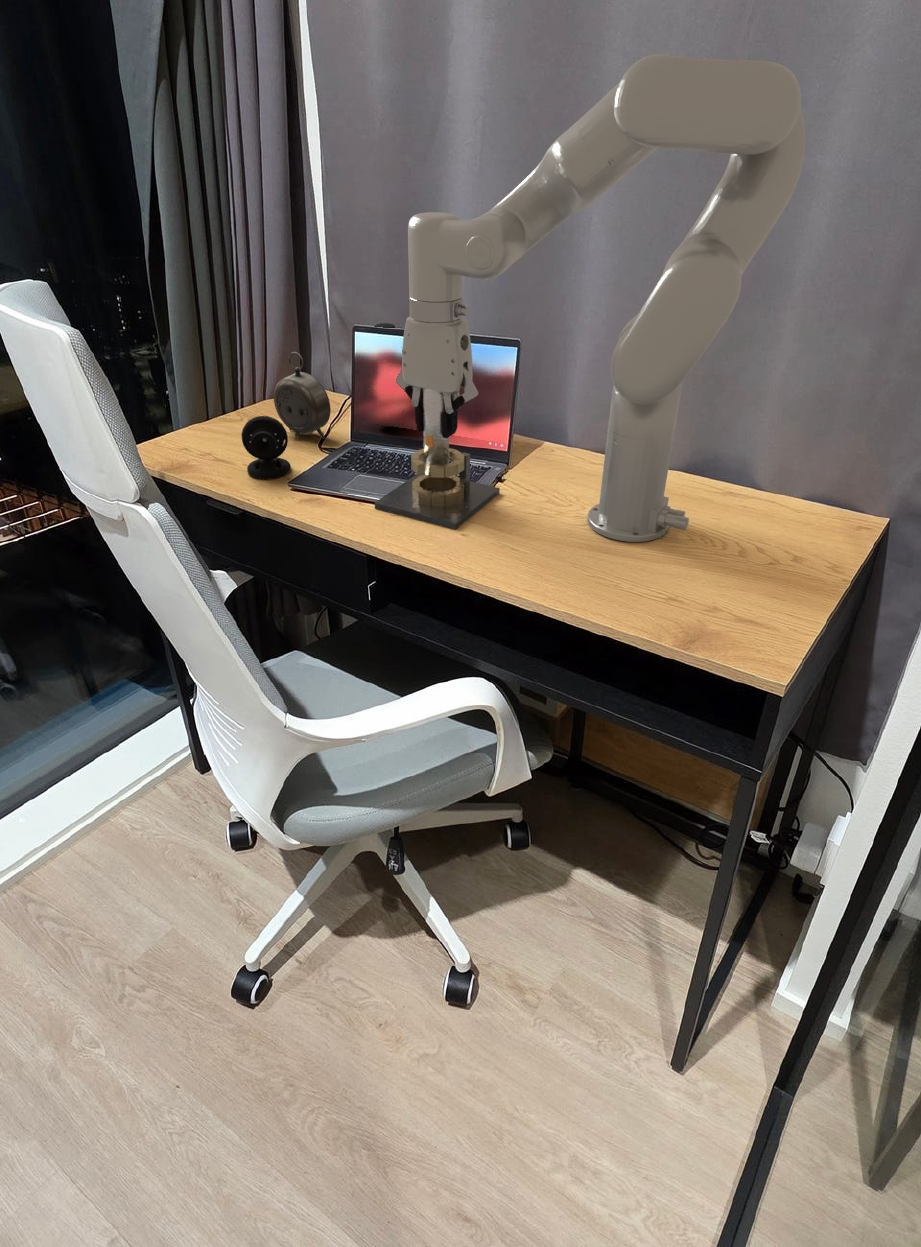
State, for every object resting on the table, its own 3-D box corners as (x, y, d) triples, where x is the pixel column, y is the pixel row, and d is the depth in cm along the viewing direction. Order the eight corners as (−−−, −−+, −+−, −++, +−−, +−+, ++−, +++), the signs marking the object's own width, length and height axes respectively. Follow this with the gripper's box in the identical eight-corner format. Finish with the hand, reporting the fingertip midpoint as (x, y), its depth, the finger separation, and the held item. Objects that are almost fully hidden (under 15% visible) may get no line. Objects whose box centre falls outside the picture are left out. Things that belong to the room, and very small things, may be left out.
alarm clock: (334, 438, 153) (327, 353, 144) (316, 447, 149) (307, 360, 140) (292, 427, 158) (282, 344, 149) (273, 435, 154) (261, 350, 145)
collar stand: (499, 493, 133) (500, 450, 129) (455, 529, 122) (455, 484, 118) (423, 475, 139) (422, 433, 135) (374, 508, 128) (372, 464, 124)
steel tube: (432, 465, 130) (431, 353, 120) (453, 470, 128) (454, 357, 118) (418, 473, 127) (416, 360, 117) (440, 479, 125) (440, 364, 115)
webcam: (245, 481, 137) (236, 425, 131) (249, 464, 143) (240, 409, 137) (290, 479, 138) (283, 423, 132) (292, 462, 144) (286, 408, 138)
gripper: (499, 312, 113) (494, 435, 123) (400, 297, 120) (404, 415, 130) (474, 323, 108) (471, 451, 118) (372, 307, 114) (378, 430, 125)
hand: (436, 431), depth 124 cm, fingers closed on steel tube, 4 cm apart
